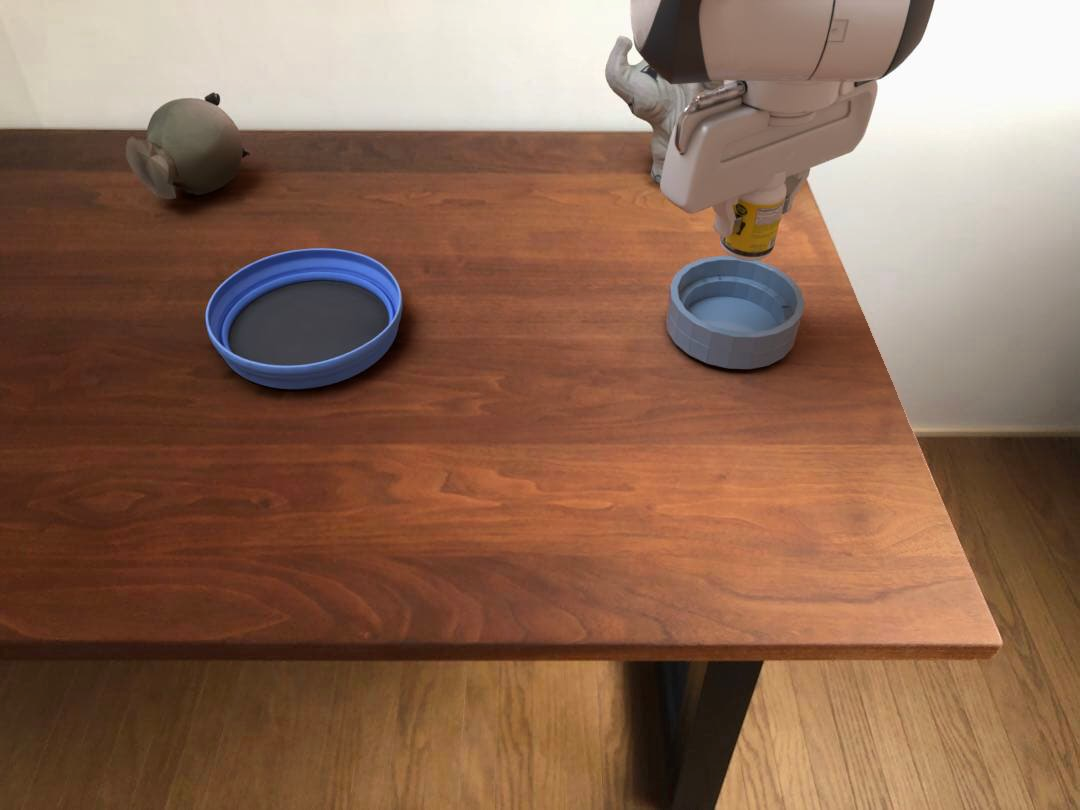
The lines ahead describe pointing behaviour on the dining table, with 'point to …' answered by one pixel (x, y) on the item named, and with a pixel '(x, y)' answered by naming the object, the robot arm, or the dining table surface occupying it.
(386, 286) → the bowl
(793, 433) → the dining table surface
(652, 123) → the grey elephant figurine
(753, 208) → the supplement bottle
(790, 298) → the blue bowl
